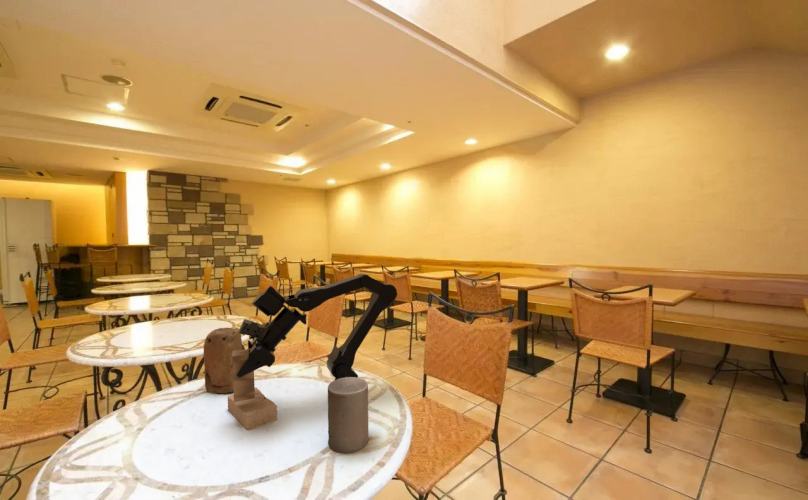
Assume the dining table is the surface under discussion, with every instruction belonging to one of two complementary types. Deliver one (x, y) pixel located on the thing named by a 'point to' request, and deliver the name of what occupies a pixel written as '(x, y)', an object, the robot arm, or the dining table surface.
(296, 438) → the dining table surface
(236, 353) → the walnut block
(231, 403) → the brick
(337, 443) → the pillar candle
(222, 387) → the block
